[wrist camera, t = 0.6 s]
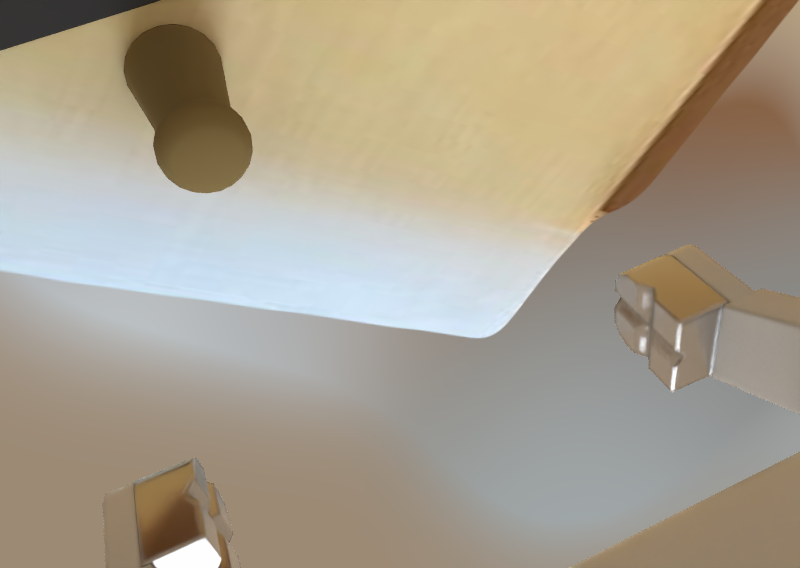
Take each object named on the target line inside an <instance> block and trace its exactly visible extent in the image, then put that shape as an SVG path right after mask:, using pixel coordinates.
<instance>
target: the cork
mask: <svg viewBox="0 0 800 568" xmlns="http://www.w3.org/2000/svg"><path fill="white" fill-rule="evenodd" d="M124 74H125V78H126V82H127V85H128V87H129V89H130V90H131V92H132V94H133V95H134V97H135V99H136V100H137V102H138V104H139V105H140V107H141V108H142V110H143V112H144V113H145V115H146V117H147V118H148V120H149V122H150V123H151V125H152V127H153V128H154V130H155V136H154V143H153V147H154V151H155V155H156V159H157V163H158V165H159V167H160V168H161V170H162V171H163V173H164V174H165V175H166V177H167V178H168V179H169V180H171V181H172V182H173V183H175V184H176V185H177V186H179V187H180V188H183V189H186V190H189V191H192V192H197V193H212V192H217V191H221V190H223V189H225V188H227V187H230V186H232V185H233V184H234V183H235V182H236V181H237V180H239V179H240V178H241V177H242V176H243V174H244V172H245V171H246V169H247V168H248V166H249V164H250V161H251V156H252V140H251V134H250V132H249V130H248V128H247V126H246V124H245V122H244V120H243V118H242V117H241V116H240V115H239V114H238V113H237V112H236V111H234V110H233V109H232V108H231V107H230V102H229V97H228V92H227V87H226V81H225V76H224V71H223V66H222V61H221V57H220V55H219V53H218V51H217V49H216V47H215V45H214V44H213V43H212V42H211V41H210V40H209V39H208V38H207V37H206V36H205V35H204V34H202V33H200V32H198V31H196V30H194V29H192V28H190V27H186V26H181V25H175V24H172V25H163V26H157V27H155V28H153V29H151V30H148V31H146V32H144V33H143V34H142V35H140V36H139V37H138V38H137V39H136V40H135V41H134V42H133V43H132V45H131V47H130V49H129V51H128V53H127V55H126V57H125V66H124Z"/></svg>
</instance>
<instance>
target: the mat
mask: <svg viewBox="0 0 800 568" xmlns="http://www.w3.org/2000/svg"><path fill="white" fill-rule="evenodd" d="M157 1H160V0H0V50H3V49H7V48H10V47H13V46H16V45H19V44H23V43H26V42H29V41H32V40H35V39H39V38H42V37H45V36H48V35H51V34H55V33H58V32H61V31H64V30H67V29H71V28H74V27H77V26H80V25H83V24H87V23H90V22H93V21H96V20H99V19H103V18H106V17H109V16H112V15H115V14H119V13H122V12H125V11H128V10H131V9H135V8H138V7H141V6H144V5H147V4H150V3H154V2H157Z"/></svg>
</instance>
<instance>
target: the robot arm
mask: <svg viewBox="0 0 800 568" xmlns="http://www.w3.org/2000/svg"><path fill="white" fill-rule="evenodd" d="M615 291H616V292H617V293H618V294H619V295H620V296H621V298H620V300H619V301H618V303H617V305H616V306H615V309H614V313H615V315H614V316H615V323H616V326H617V329H618V332H619V334H620V336H621V337H622V339H623V340H624V342H625V343H626V345H627V346H628V347H629V348H630V349H631V350H632V351H633V352H634V353H637V354H640V355H643V356H646V357H648V359H649V369H650V370H651V371H652V372H653V373H654V374H655V375H656V376H657V377H658V378H659V379H660V380H661V381H662V382H663V383H664V385H665V386H666V387H668V389H669V390H670V391H671V392H673V391H675V390H678V389H680V388H682V387H685V386H687V385H689V384H692V383H694V382H696V381H699V380H701V379H703V378H705V377H708V376H710V375H712V378H715V379H717V380H719V381H722V382H724V383H726V384H729V385H731V386H734V387H736V388H738V389H741V390H743V391H745V392H748V393H750V394H753V395H755V396H757V397H760V398H762V399H764V400H767V401H769V402H771V403H774V404H776V405H779V406H781V407H784V408H786V409H788V410H790V411H793V412H795V413H798V414H800V298H799V297H795V296H791V295H786V294H782V293H778V292H773V291H769V290H765V289H760V290H757V291H754V290H752V289H751V288H750V287H748V286H747V285H746V284H744V283H743V282H742V281H741V280H739V279H738V278H737V277H735V276H734V275H733V274H731V273H730V272H729V271H728V270H726V269H725V268H724V267H722V266H721V265H720V264H718V263H717V262H716V261H714V260H713V259H712V258H711V257H709V256H708V255H707V254H705V253H704V252H703V251H701V250H700V249H699V248H698V247H696V246H693V245H690V244H688V245H686V246H683V247H681V248H679V249H676V250H674V251H672V252H669V253H667V254H665V255H663V256H659V257H657V258H655V259H653V260H650V261H648V262H646V263H644V264H641V265H639V266H637V267H635V268H632V269H630V270H628V271H626V272H623V273H621V274H619V275H618V277H617V279H616V281H615ZM103 523H104V541H105V561H106V568H241V567H240V562H239V558H238V555H237V554H236V552H235V551H234V549H233V548H232V547H231V545H230V544H229V543H230V540H231V538H232V535H233V531H232V526H231V522H230V518H229V515H228V512H227V510H226V507H225V504H224V501H223V500H222V497H221V495H220V493H219V491H218V490H217V488H216V487H215V485H214V484H213V483H210V482H206V477H205V472H204V469H203V467H202V466H201V464H200V463H199V461H198V460H197V459H196V458H192V459H190V460H187V461H185V462H182V463H180V464H177V465H175V466H172V467H170V468H167V469H165V470H162V471H160V472H157V473H155V474H152V475H150V476H147V477H145V478H142V479H140V480H137V481H135V482H134V483H131V484H129V485H126V486H124V487H121V488H119V489H116V490H114V491H111V492H109V493H106V494H105V497H104V501H103ZM569 568H800V452H798V453H796V454H794V455H793V456H790V457H789V458H786V459H784V460H782V461H780V462H778V463H777V464H774V465H773V466H771V467H769V468H767V469H765V470H763V471H761V472H759V473H757V474H755V475H753V476H751V477H749V478H747V479H745V480H743V481H741V482H739V483H737V484H735V485H733V486H731V487H729V488H727V489H725V490H723V491H721V492H719V493H717V494H715V495H713V496H711V497H709V498H707V499H705V500H703V501H701V502H699V503H697V504H695V505H693V506H691V507H689V508H687V509H685V510H683V511H681V512H679V513H677V514H675V515H673V516H671V517H669V518H667V519H665V520H663V521H661V522H659V523H657V524H655V525H653V526H651V527H649V528H647V529H645V530H643V531H641V532H639V533H637V534H635V535H633V536H631V537H629V538H627V539H625V540H623V541H621V542H619V543H617V544H615V545H613V546H611V547H609V548H607V549H605V550H603V551H601V552H599V553H597V554H595V555H593V556H591V557H589V558H587V559H585V560H583V561H581V562H579V563H577V564H575V565H573V566H571V567H569Z"/></svg>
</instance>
